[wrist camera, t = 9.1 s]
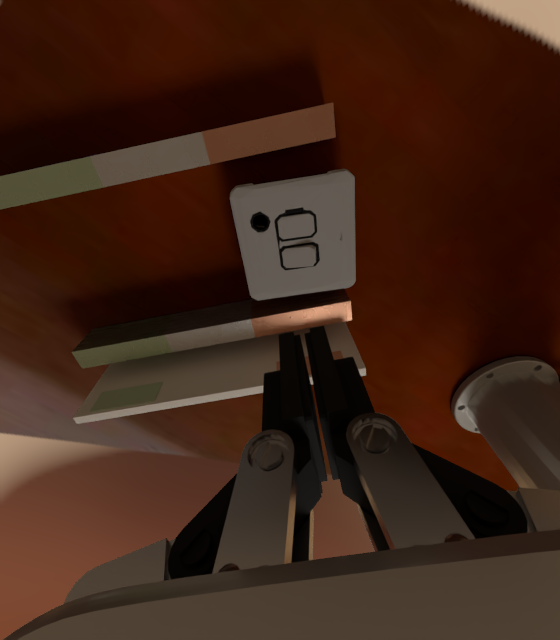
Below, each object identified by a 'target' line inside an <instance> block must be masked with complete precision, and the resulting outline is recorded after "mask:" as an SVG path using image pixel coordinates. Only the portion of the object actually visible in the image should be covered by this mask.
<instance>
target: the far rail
mask: <svg viewBox="0 0 560 640" xmlns="http://www.w3.org/2000/svg"><path fill="white" fill-rule="evenodd" d="M350 320H352V312H351V301H350V299H349V297H348V295H347V293H346V291H345V289H344V288H342V289H335V290H328V291H321V292H314V293H307V294H300V295H293V296H286V297H279V298H272V299H265V300H259V301H257V300H256V299H250V300H245V301H239V302H234V303H229V304H223V305H218V306H213V307H207V308H202V309H197V310H191V311H186V312H181V313H175V314H170V315H164V316H159V317H154V318H148V319H143V320H138V321H132V322H127V323H122V324H116V325H111V326H106V327H100V328H95V329H92V330H91V331H90V332H89V333H88V334H87V335H86V337H85V338H84V339H83V340H82V341H81V342H80V343H79V344H78V345H77V346H76V348H75V349H74V350H73V351H72V354H73V355H74V357H75V358H76V360H77V361H78V363H79V364H80V366H81V367H82V368H88V367H94V366H99V365H105V364H110V363H116V362H121V361H127V360H133V359H138V358H144V357H149V356H155V355H160V354H166V353H172V352H177V351H183V350H188V349H194V348H199V347H205V346H211V345H216V344H222V343H227V342H233V341H238V340H244V339H250V338H255V337H261V336H266V335H272V334H277V333H283V332H289V331H294V330H300V329H305V328H311V327H316V326H322V325H328V324H333V323H339V322H344V321H350Z"/></svg>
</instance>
